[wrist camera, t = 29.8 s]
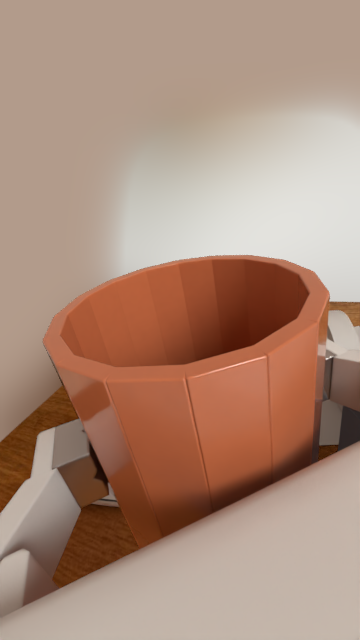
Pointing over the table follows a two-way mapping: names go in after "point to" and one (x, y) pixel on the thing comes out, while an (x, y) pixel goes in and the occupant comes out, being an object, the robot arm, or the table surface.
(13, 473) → the table surface
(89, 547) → the table surface
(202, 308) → the cup
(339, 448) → the cabinet
